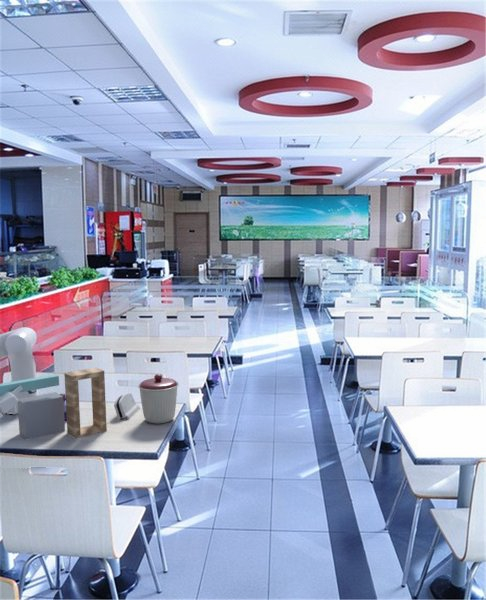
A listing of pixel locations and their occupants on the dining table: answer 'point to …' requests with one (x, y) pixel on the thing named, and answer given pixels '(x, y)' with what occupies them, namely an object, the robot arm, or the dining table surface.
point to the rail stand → (97, 402)
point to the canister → (158, 399)
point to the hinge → (126, 406)
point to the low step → (41, 415)
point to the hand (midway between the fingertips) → (19, 385)
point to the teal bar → (30, 384)
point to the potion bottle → (64, 406)
